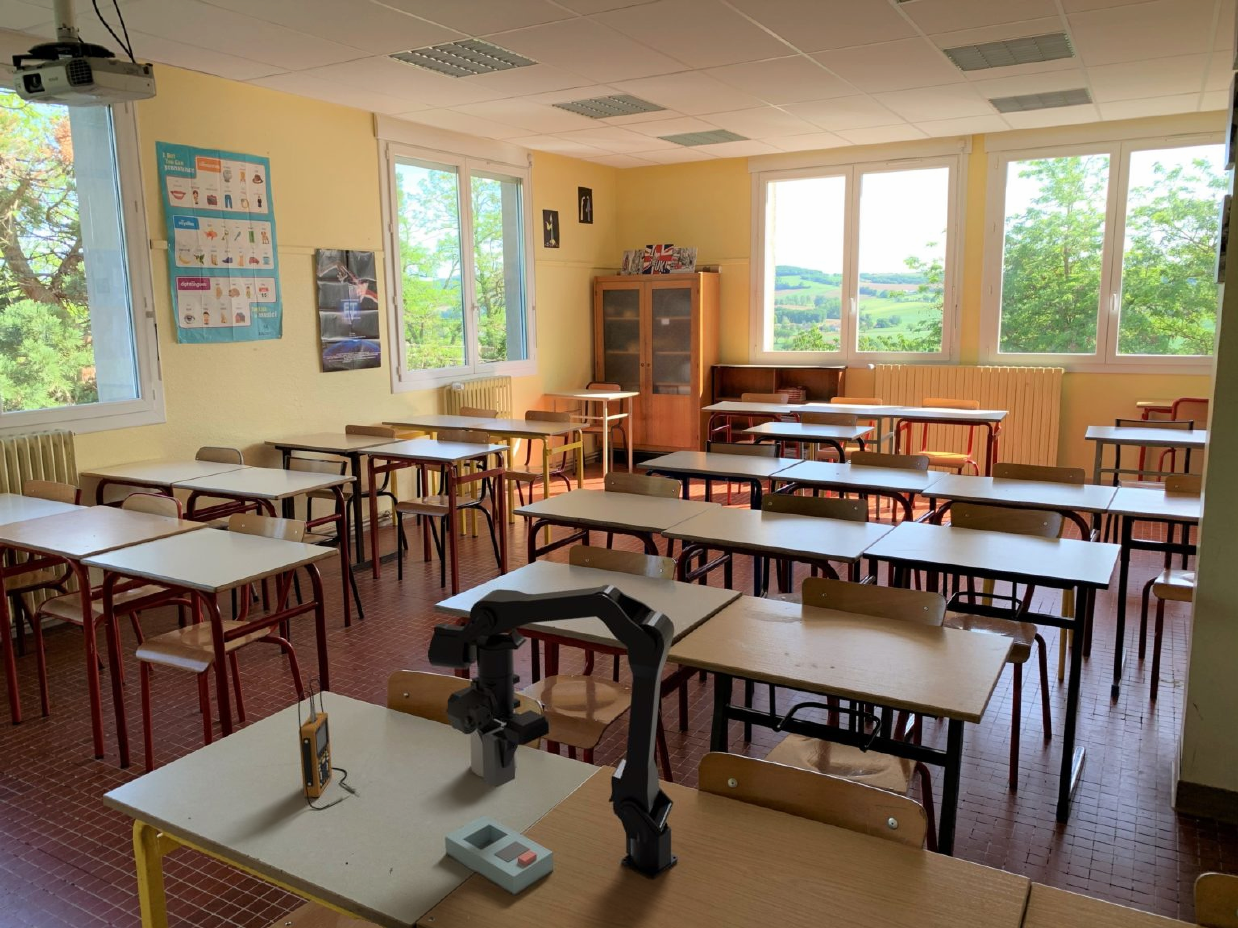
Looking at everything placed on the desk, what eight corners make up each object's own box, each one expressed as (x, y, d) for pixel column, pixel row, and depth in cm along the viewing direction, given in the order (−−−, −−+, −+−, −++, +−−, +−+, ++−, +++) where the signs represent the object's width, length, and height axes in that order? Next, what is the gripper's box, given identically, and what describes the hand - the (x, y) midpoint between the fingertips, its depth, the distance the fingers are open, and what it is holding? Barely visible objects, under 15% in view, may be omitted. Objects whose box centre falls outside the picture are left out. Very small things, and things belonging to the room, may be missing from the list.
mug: (504, 781, 166) (502, 724, 164) (462, 773, 169) (460, 718, 167) (532, 751, 177) (530, 698, 175) (493, 744, 180) (491, 692, 178)
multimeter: (353, 810, 157) (346, 701, 153) (295, 810, 157) (287, 701, 153) (377, 767, 171) (371, 667, 168) (324, 767, 171) (317, 667, 168)
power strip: (553, 869, 139) (552, 847, 139) (514, 895, 133) (513, 871, 133) (484, 831, 150) (484, 810, 149) (445, 853, 144) (444, 831, 143)
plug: (503, 772, 148) (501, 726, 147) (515, 778, 146) (513, 731, 145) (483, 781, 146) (481, 734, 144) (495, 787, 144) (494, 740, 142)
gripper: (417, 670, 143) (422, 762, 146) (493, 704, 131) (497, 804, 133) (474, 651, 151) (477, 738, 154) (550, 681, 139) (552, 776, 141)
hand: (498, 763), depth 146 cm, fingers closed on plug, 3 cm apart
